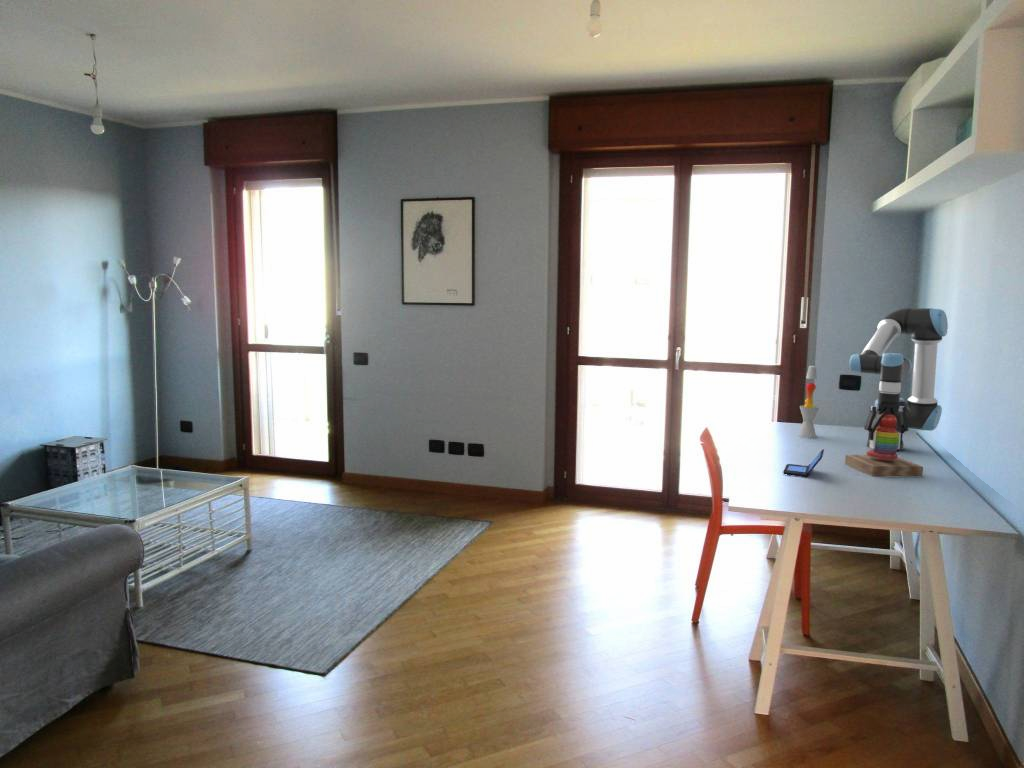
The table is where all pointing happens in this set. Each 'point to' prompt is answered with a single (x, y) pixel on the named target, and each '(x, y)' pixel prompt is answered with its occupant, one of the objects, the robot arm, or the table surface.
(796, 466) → the handheld game console
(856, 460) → the walnut plinth
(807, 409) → the lava lamp
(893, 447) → the stacking bear
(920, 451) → the table surface
